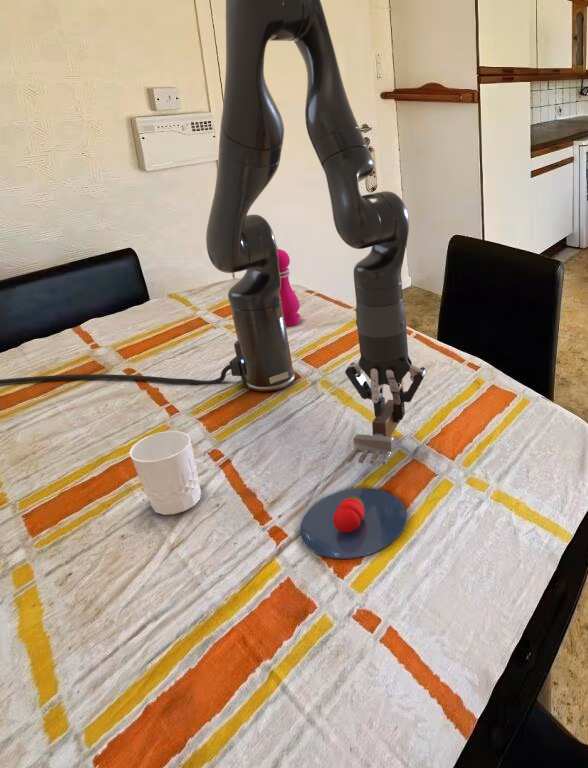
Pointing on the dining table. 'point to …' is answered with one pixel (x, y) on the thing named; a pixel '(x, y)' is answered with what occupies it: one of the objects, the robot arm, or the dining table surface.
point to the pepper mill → (287, 291)
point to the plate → (371, 535)
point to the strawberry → (349, 514)
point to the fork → (377, 437)
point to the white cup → (167, 471)
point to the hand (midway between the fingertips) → (390, 419)
